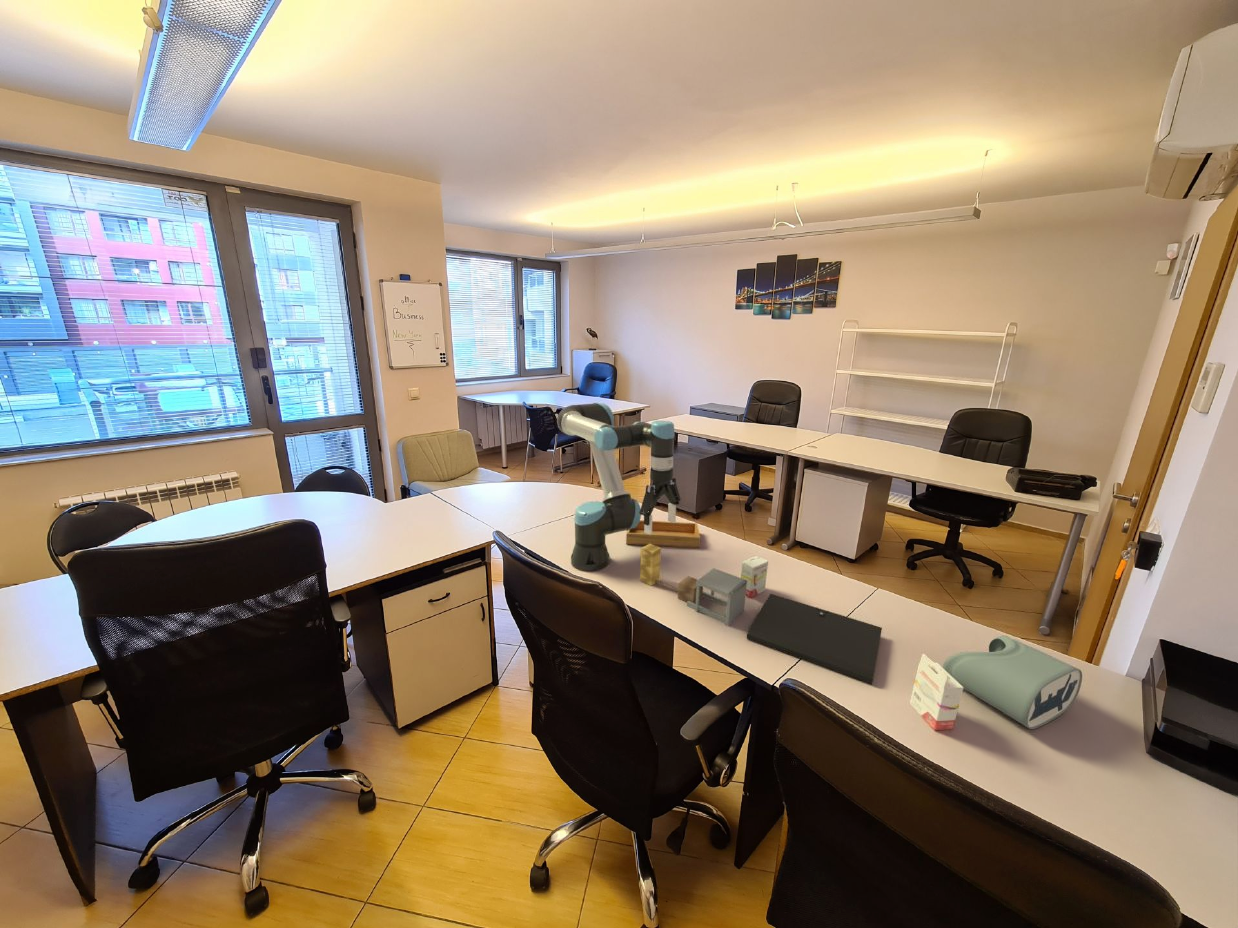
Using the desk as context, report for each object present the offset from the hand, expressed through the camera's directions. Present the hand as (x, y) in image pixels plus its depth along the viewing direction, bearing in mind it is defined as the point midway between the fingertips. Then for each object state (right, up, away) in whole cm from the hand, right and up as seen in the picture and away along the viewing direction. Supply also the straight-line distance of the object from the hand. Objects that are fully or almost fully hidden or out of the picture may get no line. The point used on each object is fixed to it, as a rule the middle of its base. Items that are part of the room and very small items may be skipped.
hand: (660, 527), depth 160 cm
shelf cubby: (+17, -26, -8) cm, 32 cm away
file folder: (+44, -31, -22) cm, 58 cm away
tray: (+5, -11, +42) cm, 44 cm away
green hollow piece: (+83, -37, -42) cm, 100 cm away
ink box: (+32, -23, +2) cm, 40 cm away
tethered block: (+4, -22, +3) cm, 23 cm away
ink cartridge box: (+60, -38, -49) cm, 87 cm away
